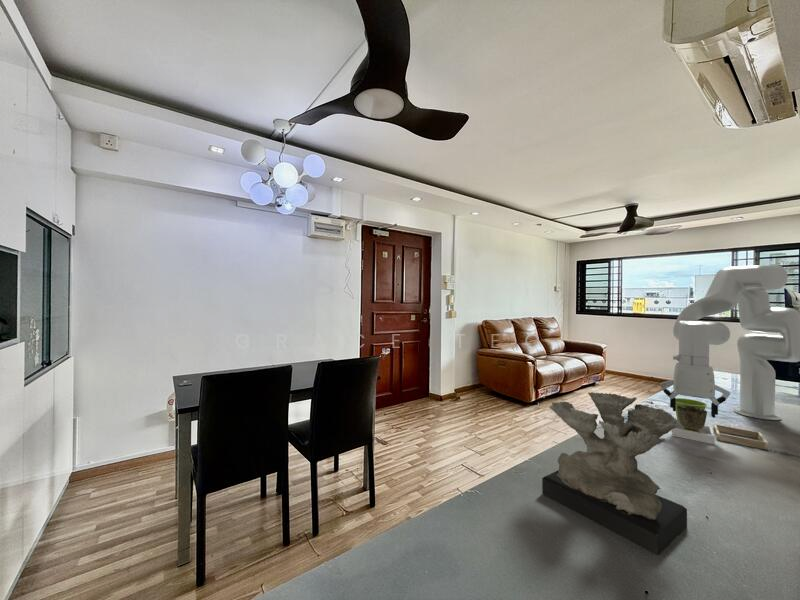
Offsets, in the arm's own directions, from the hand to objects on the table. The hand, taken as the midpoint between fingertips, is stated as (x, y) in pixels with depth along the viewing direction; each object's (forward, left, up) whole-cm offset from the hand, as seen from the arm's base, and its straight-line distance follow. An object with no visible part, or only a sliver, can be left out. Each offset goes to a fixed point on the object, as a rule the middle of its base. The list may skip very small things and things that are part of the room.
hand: (693, 413), depth 111 cm
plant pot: (-9, -1, -7) cm, 12 cm away
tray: (0, 0, -7) cm, 7 cm away
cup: (0, 0, -7) cm, 7 cm away
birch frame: (-6, +11, -7) cm, 14 cm away
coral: (+61, -16, -7) cm, 64 cm away
